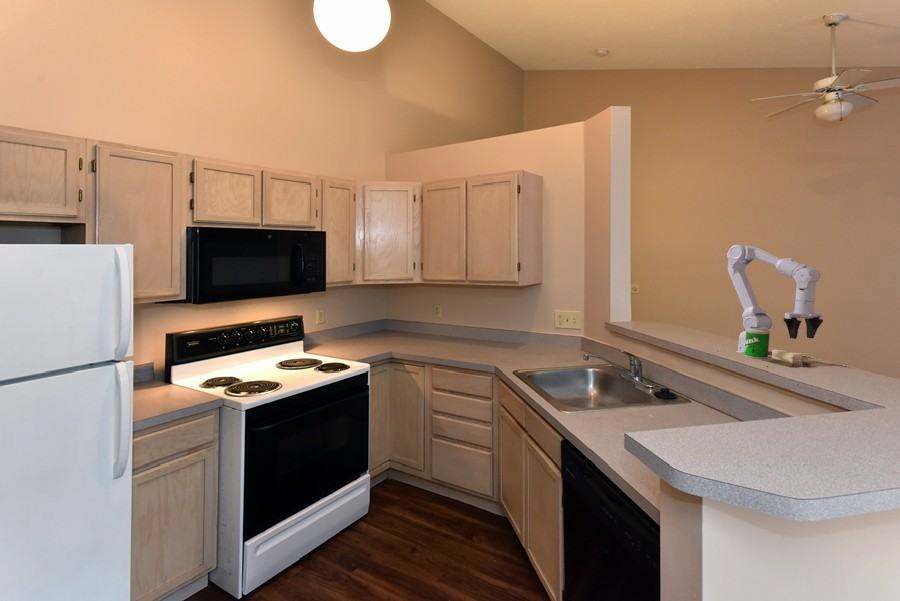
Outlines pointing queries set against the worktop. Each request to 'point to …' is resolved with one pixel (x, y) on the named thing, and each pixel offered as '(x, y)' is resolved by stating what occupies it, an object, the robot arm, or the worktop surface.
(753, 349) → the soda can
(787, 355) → the birch bar
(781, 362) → the cradle
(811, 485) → the worktop surface
